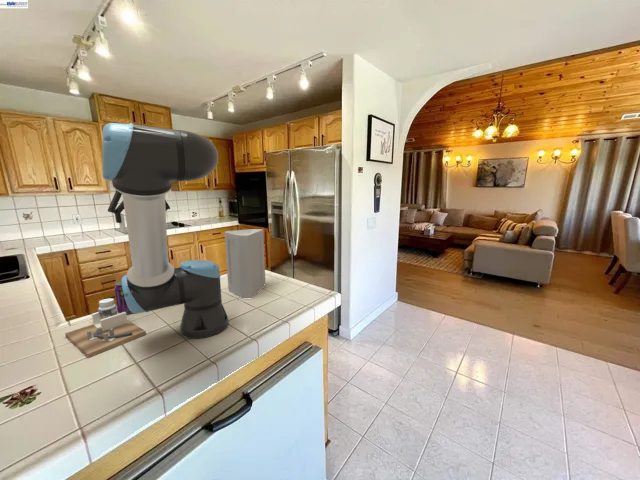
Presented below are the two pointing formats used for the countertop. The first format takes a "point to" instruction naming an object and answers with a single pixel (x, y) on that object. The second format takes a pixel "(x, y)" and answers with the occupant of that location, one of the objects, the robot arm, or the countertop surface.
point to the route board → (95, 346)
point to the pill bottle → (107, 308)
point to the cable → (112, 336)
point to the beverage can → (120, 299)
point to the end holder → (109, 321)
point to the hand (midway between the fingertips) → (143, 229)
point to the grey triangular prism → (245, 261)
